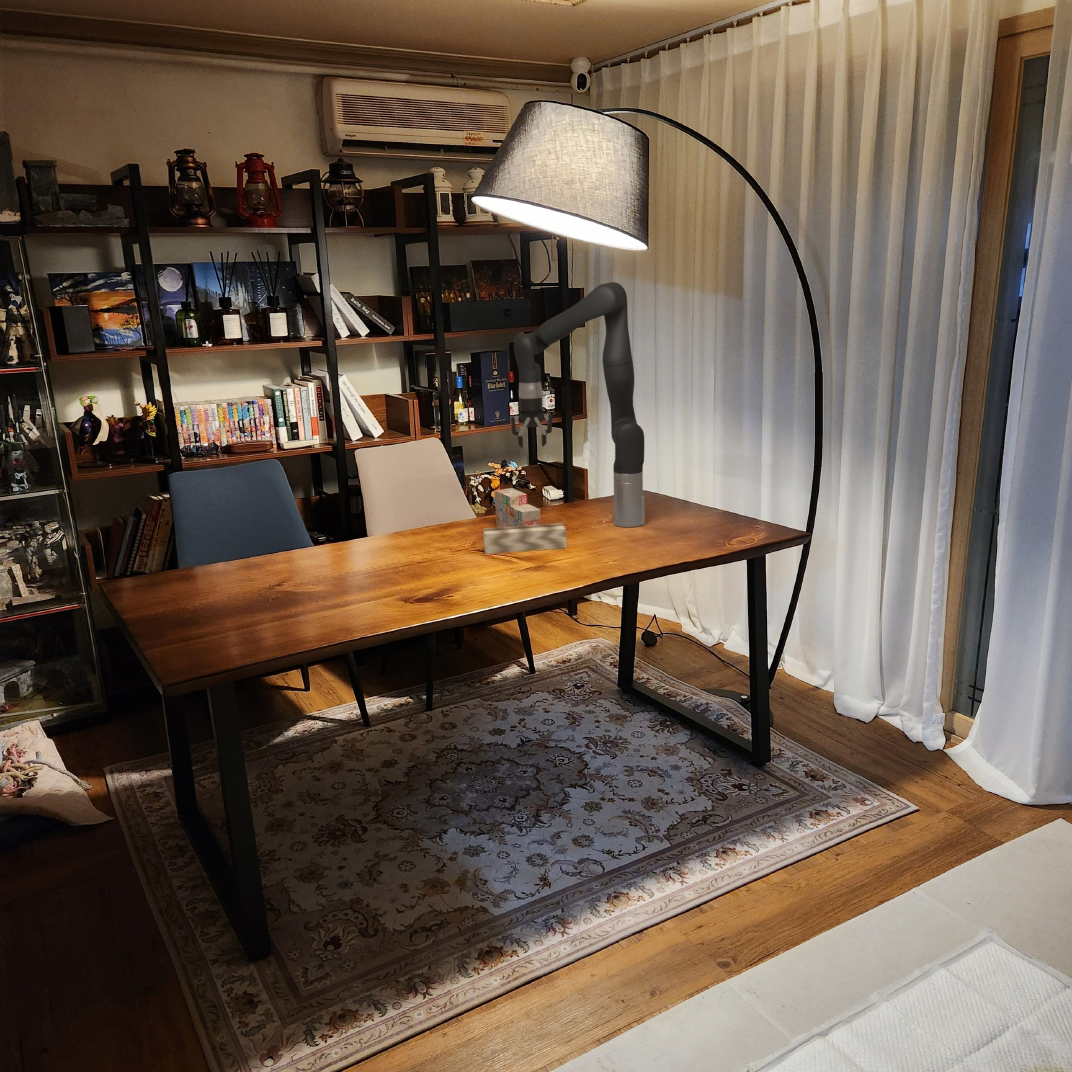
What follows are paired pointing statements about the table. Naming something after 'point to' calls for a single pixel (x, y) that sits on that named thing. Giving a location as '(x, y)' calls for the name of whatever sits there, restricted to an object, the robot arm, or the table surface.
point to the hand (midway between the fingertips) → (532, 446)
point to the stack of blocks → (514, 509)
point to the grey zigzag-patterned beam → (524, 538)
